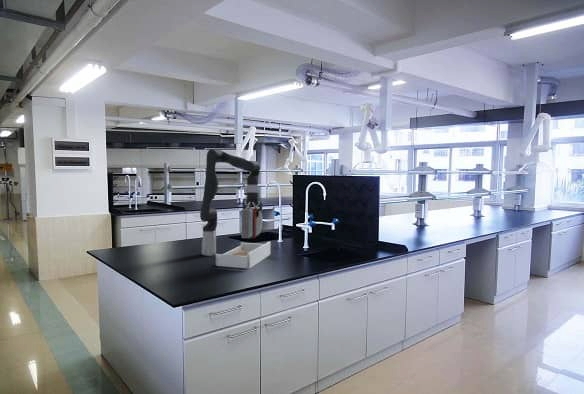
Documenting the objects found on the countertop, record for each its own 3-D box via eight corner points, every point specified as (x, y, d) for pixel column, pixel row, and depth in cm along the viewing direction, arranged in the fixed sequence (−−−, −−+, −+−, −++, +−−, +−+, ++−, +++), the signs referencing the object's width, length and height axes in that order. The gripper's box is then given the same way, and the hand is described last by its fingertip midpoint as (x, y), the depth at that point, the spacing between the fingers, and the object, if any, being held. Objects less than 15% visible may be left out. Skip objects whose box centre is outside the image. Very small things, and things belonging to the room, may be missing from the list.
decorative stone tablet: (250, 208, 228) (264, 208, 257) (240, 208, 229) (255, 208, 258) (249, 239, 227) (263, 236, 257) (239, 239, 229) (254, 235, 258)
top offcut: (230, 257, 242) (230, 254, 242) (241, 253, 256) (241, 250, 256) (238, 258, 240) (238, 255, 240) (249, 253, 254) (249, 251, 254)
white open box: (215, 267, 230) (215, 251, 229) (241, 253, 268) (241, 239, 268) (249, 269, 224) (249, 253, 223) (270, 255, 262) (270, 241, 262)
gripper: (240, 191, 240) (240, 217, 241) (260, 192, 236) (260, 218, 237) (244, 191, 247) (244, 216, 248) (264, 191, 243) (264, 216, 244)
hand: (252, 217), depth 242 cm, fingers closed on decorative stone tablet, 6 cm apart
